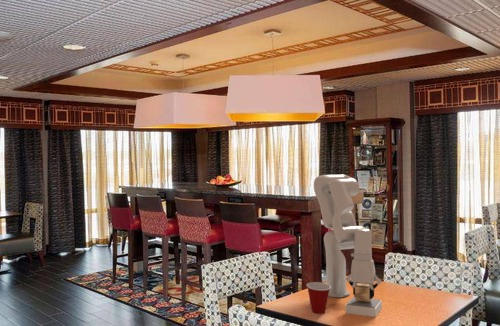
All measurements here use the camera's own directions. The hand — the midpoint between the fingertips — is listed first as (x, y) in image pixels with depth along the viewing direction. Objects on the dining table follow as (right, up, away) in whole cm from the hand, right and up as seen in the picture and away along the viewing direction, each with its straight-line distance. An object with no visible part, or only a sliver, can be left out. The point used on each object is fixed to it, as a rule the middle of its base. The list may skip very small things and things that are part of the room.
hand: (363, 297), depth 213 cm
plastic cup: (-20, -7, -1) cm, 21 cm away
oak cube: (0, -1, 0) cm, 1 cm away
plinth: (0, -6, 0) cm, 6 cm away
